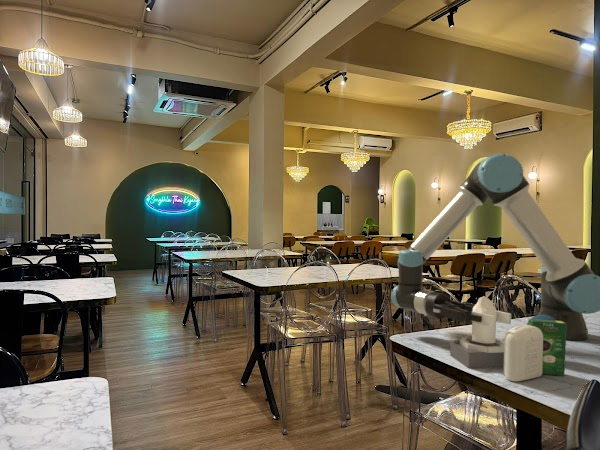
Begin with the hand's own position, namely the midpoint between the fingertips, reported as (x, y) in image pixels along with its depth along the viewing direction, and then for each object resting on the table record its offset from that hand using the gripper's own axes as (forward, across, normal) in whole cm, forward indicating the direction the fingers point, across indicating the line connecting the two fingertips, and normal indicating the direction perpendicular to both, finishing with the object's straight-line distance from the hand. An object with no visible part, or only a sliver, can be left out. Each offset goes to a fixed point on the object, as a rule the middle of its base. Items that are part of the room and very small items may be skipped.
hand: (502, 320), depth 108 cm
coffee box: (+8, -6, -12) cm, 16 cm away
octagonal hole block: (-5, 0, -12) cm, 13 cm away
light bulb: (+2, -16, -12) cm, 20 cm away
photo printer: (+7, +2, -12) cm, 14 cm away
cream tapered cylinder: (-5, 0, -7) cm, 9 cm away
